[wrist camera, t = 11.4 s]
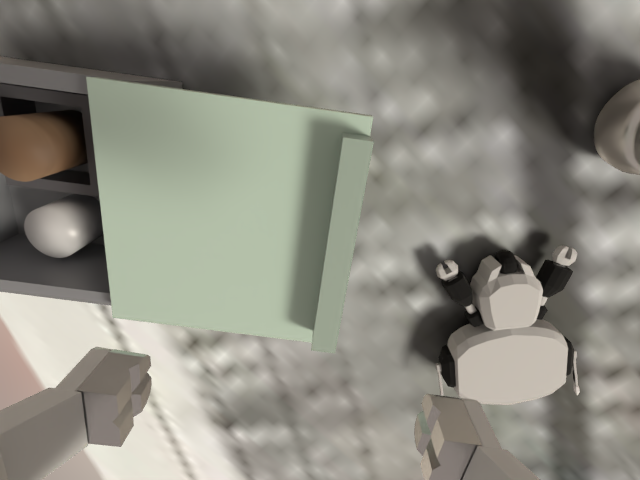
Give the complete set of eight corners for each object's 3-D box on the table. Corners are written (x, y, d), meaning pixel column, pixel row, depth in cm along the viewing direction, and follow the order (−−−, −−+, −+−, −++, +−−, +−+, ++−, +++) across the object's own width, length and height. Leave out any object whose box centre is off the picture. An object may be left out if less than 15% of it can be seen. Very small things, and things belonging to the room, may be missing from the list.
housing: (-21, 53, 27) (-152, 41, 20) (182, 81, 28) (127, 80, 20) (18, 238, 33) (-72, 282, 26) (185, 259, 33) (143, 309, 26)
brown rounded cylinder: (46, 106, 28) (-26, 112, 22) (99, 113, 28) (41, 121, 22) (54, 159, 29) (-11, 177, 24) (105, 166, 29) (52, 185, 24)
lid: (97, 77, 20) (59, 75, 17) (371, 115, 20) (377, 120, 17) (120, 309, 26) (95, 336, 23) (332, 335, 26) (332, 365, 23)
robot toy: (422, 249, 33) (431, 383, 38) (434, 268, 29) (444, 417, 34) (563, 230, 32) (555, 371, 37) (597, 248, 28) (584, 405, 33)
